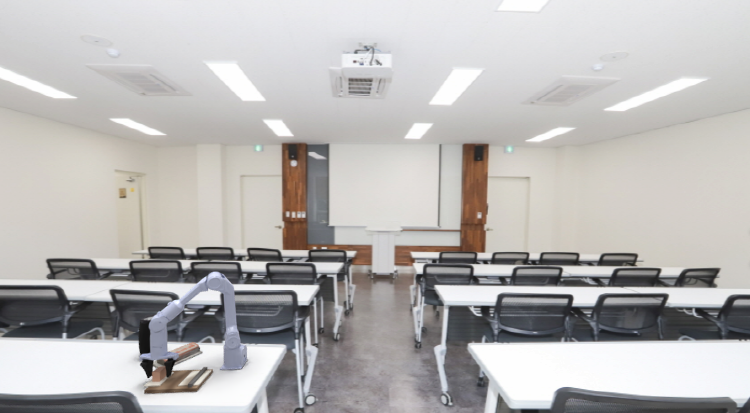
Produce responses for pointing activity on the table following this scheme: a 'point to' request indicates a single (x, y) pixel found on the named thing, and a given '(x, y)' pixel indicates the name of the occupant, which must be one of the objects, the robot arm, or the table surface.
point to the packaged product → (181, 354)
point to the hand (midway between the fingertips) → (159, 376)
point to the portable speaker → (144, 334)
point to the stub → (158, 377)
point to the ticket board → (182, 381)
